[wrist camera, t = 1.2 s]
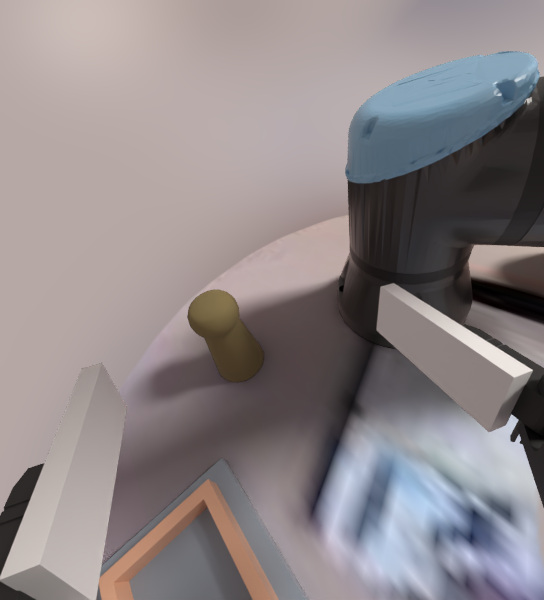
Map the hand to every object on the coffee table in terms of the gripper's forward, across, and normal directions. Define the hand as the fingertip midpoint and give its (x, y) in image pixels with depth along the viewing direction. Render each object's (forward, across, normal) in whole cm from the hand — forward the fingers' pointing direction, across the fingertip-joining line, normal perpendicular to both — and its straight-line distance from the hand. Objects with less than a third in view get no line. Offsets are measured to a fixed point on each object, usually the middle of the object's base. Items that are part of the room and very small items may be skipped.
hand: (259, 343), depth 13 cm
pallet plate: (-1, -8, -22) cm, 23 cm away
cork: (+17, 0, -16) cm, 23 cm away
